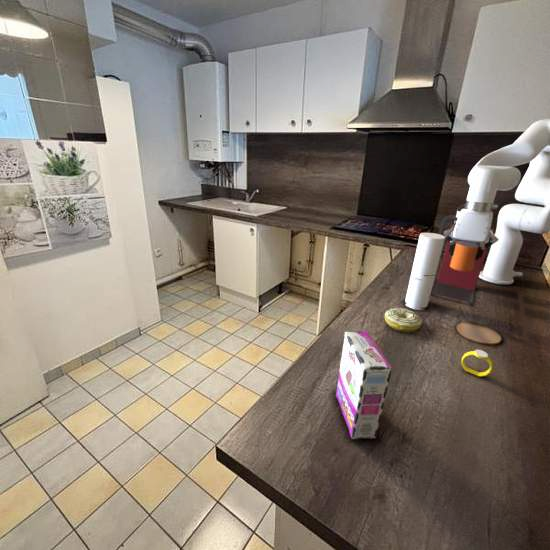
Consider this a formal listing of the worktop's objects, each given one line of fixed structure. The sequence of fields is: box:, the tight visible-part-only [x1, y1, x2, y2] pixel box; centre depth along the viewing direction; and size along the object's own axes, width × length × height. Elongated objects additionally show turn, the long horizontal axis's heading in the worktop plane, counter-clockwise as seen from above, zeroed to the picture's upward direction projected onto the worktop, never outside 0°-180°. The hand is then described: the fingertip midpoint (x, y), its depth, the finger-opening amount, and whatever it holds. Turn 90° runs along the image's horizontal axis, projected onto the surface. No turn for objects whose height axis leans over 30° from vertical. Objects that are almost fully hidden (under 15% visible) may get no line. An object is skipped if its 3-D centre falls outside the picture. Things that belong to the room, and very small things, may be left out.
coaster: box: [456, 321, 502, 346], centre depth 86 cm, size 11×11×1 cm
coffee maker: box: [431, 223, 494, 304], centre depth 108 cm, size 18×13×24 cm
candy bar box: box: [335, 330, 393, 440], centre depth 55 cm, size 11×5×16 cm, turn 5°
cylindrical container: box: [404, 232, 446, 311], centre depth 97 cm, size 7×7×25 cm
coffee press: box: [437, 203, 465, 258], centre depth 143 cm, size 17×16×30 cm
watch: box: [461, 349, 493, 377], centre depth 69 cm, size 6×3×6 cm, turn 53°
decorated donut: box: [384, 307, 423, 333], centre depth 89 cm, size 10×11×4 cm
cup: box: [450, 241, 480, 271], centre depth 104 cm, size 7×7×9 cm
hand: (464, 256), depth 104 cm, fingers closed on cup, 7 cm apart
